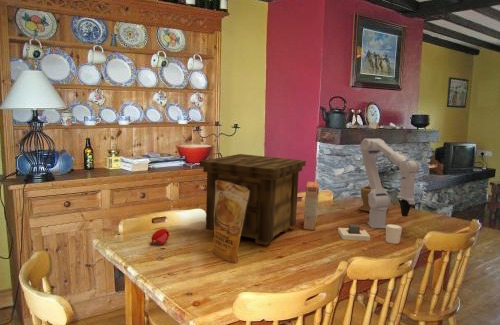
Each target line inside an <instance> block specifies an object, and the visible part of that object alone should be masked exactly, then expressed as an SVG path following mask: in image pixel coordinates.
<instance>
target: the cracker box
mask: <svg viewBox="0 0 500 325" xmlns="http://www.w3.org/2000/svg"><path fill="white" fill-rule="evenodd" d="M319 189H320V182H319V181H307V183H306V188H305V201H304V213H303V215H304V217H303V227H302V228H303V230H308V231H316V226H317V218H318V208H319V194H320V190H319Z"/></svg>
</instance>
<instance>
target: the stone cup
mask: <svg viewBox="0 0 500 325" xmlns="http://www.w3.org/2000/svg"><path fill="white" fill-rule="evenodd" d="M370 192H371V188H370V185H363V186H362V187H361V188H360V196H361V199H362V202H363V203H362V205H361V206H359V210H360V211H363V212H369V213H370V209H371V208H370V206H369V203H368V200H369V198H368V194H369V193H370ZM389 211H390V207H388V209H387V211H386V214H387V213H388V212H389Z"/></svg>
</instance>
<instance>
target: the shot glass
mask: <svg viewBox="0 0 500 325" xmlns="http://www.w3.org/2000/svg"><path fill="white" fill-rule="evenodd" d="M385 225H386V228H385V241H386V242H387V243H389V244H396V245H397V244H400V240H401V235H402V231H403V226H401V225H399V224H393V223H392V224H391V223H389V224H388V223H387V224H385Z"/></svg>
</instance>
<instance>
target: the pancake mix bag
mask: <svg viewBox="0 0 500 325" xmlns="http://www.w3.org/2000/svg"><path fill="white" fill-rule="evenodd" d="M249 197H250V191H249V189H248V188H247V187H244V186H240V185H236V184H233V183H230V182H226V181H222V180H217V181H215V208H214V234H213V240H212V241H213V242H212V253H213V254H214V255H216V256H218V257H219V258H221V259H223V260H224V261H225V262H226V261H227V262H228V263H237V264H238V262H239V258H238V250H239V247H240V242H241V237H242V236H241V232H242V227H243V222H244V219H245V213H246V208H247V204H248V201H249Z"/></svg>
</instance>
